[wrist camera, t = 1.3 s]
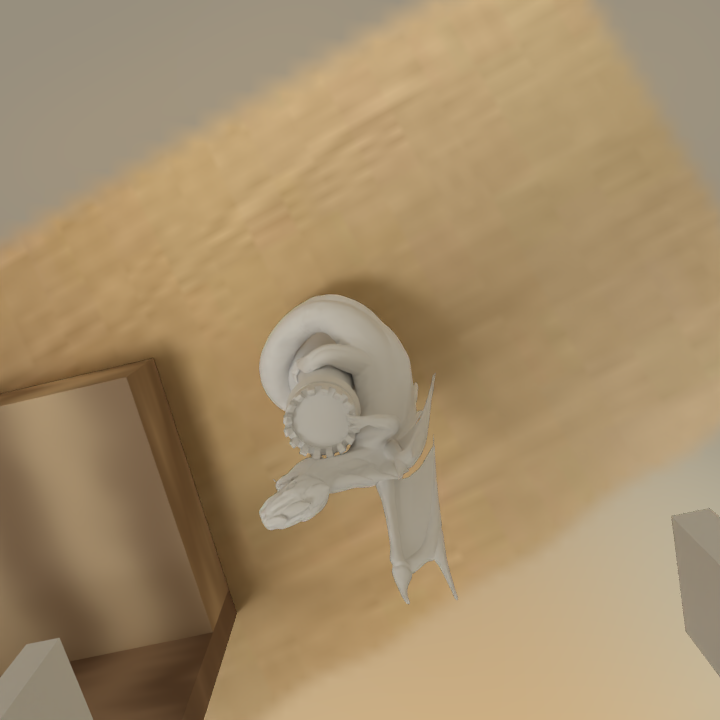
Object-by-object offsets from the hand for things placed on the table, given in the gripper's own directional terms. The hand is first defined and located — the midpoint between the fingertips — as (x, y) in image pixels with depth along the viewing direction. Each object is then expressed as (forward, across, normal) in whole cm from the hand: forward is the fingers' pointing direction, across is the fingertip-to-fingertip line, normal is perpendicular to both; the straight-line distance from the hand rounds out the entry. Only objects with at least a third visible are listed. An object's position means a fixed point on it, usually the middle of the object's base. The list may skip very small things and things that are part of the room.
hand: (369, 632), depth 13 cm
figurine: (+18, 0, 0) cm, 18 cm away
